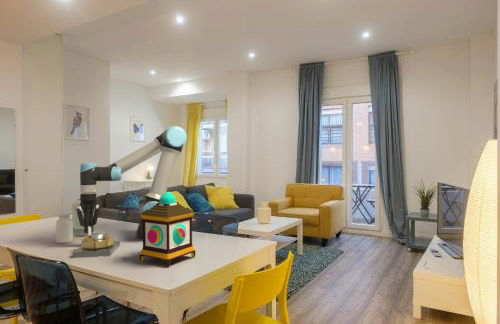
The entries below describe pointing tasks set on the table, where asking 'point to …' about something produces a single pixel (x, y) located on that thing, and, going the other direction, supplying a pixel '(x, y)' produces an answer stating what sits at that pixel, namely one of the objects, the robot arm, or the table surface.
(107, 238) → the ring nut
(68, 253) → the table surface
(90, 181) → the robot arm
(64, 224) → the pill bottle
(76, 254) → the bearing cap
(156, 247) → the decorative lantern
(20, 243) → the table surface
